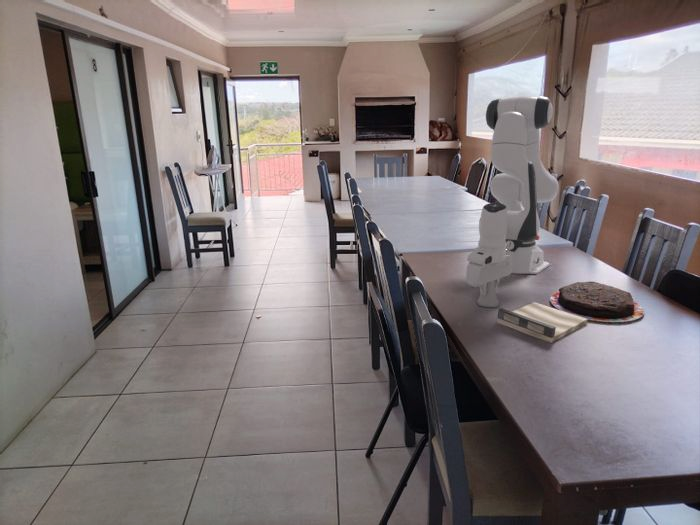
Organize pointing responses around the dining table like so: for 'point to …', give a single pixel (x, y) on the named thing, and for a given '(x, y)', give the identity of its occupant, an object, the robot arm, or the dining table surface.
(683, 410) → the dining table surface
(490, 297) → the flask
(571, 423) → the dining table surface
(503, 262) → the robot arm
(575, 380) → the dining table surface
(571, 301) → the chocolate cake
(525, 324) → the shelf board
